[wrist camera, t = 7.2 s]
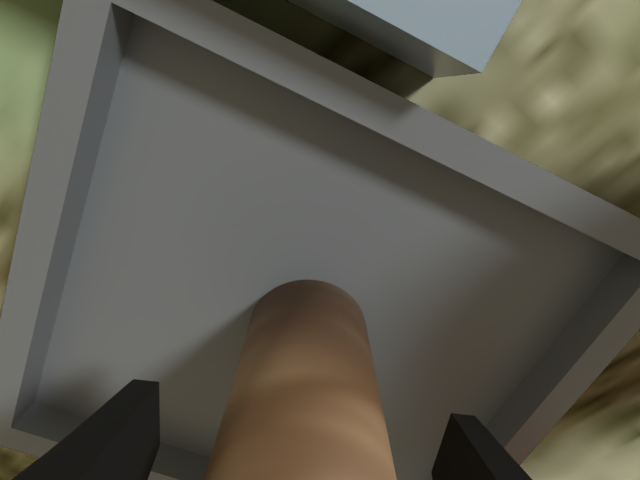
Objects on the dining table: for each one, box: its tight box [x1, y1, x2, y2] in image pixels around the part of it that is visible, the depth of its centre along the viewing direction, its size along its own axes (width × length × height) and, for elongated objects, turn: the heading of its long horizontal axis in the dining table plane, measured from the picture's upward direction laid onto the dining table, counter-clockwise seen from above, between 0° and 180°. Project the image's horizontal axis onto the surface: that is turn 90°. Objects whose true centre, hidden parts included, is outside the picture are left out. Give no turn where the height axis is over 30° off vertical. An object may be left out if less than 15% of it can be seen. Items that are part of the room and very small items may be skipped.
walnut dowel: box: [204, 280, 397, 480], centre depth 9 cm, size 4×4×9 cm
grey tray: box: [0, 0, 640, 480], centre depth 13 cm, size 18×16×2 cm
